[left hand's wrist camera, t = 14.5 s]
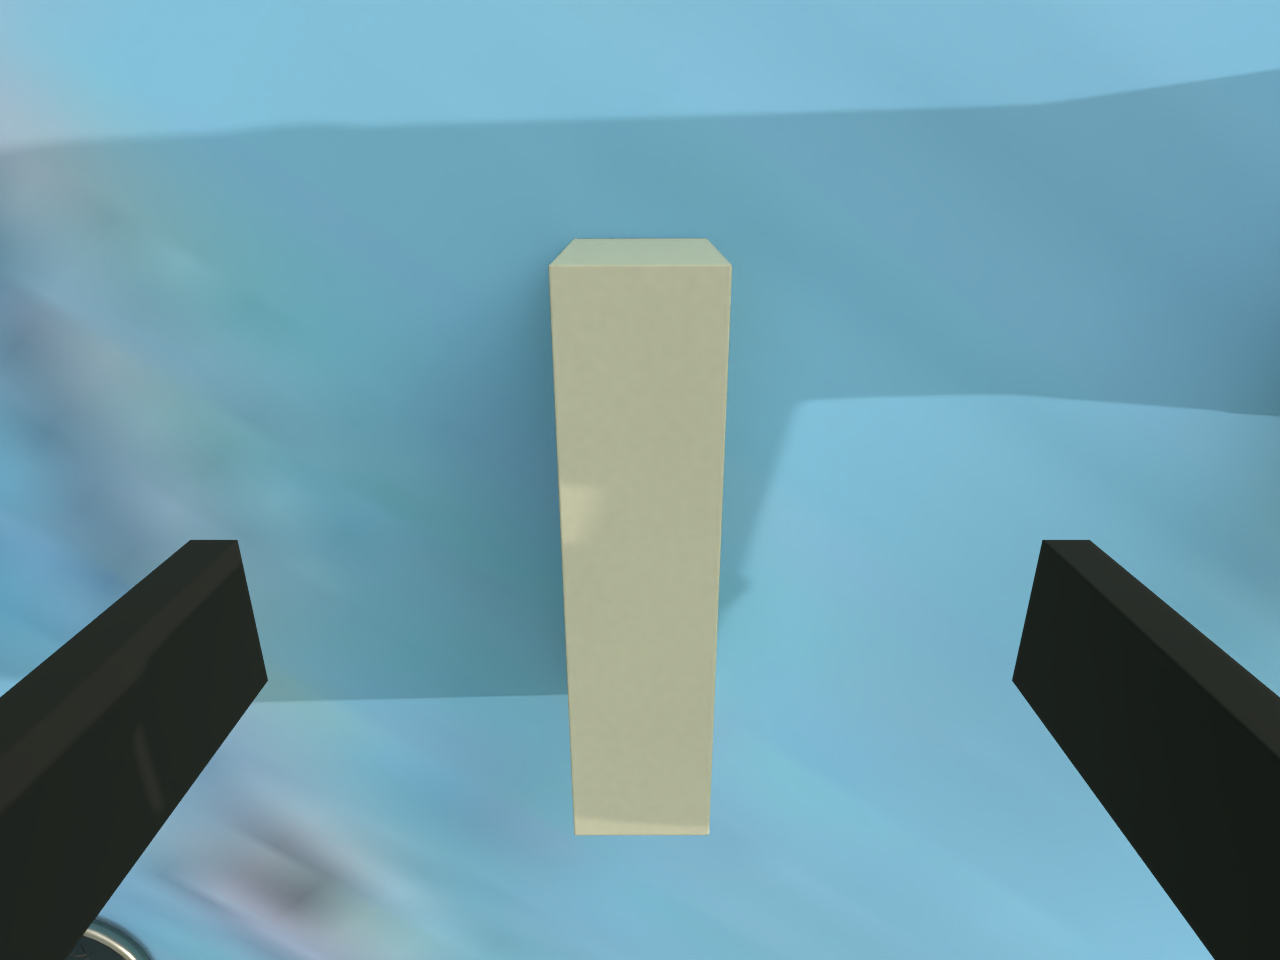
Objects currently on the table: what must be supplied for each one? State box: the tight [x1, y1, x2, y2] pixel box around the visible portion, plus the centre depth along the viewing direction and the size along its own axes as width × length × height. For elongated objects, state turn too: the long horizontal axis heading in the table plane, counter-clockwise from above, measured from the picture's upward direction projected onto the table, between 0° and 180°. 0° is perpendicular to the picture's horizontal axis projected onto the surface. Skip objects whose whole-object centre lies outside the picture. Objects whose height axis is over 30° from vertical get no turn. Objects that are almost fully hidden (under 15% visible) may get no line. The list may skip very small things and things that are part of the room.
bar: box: [549, 238, 732, 835], centre depth 32 cm, size 23×6×9 cm, turn 0°
